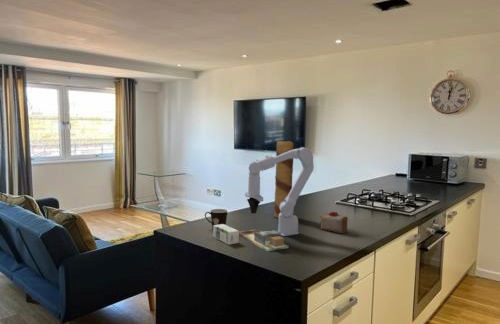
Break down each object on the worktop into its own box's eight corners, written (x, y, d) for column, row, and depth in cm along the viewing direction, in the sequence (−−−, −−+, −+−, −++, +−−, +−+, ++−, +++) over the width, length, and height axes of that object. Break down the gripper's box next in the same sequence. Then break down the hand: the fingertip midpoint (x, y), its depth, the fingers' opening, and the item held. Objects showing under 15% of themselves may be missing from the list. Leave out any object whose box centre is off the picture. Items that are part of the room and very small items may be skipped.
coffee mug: (230, 230, 183) (231, 211, 182) (217, 233, 177) (217, 213, 176) (216, 225, 191) (216, 207, 190) (203, 228, 185) (203, 209, 184)
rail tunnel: (257, 231, 181) (257, 220, 181) (288, 247, 158) (289, 235, 157) (237, 234, 176) (237, 223, 176) (267, 251, 152) (267, 238, 152)
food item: (317, 229, 188) (318, 211, 187) (325, 226, 194) (325, 208, 193) (342, 234, 179) (343, 215, 178) (349, 231, 185) (349, 212, 184)
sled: (269, 239, 166) (269, 230, 165) (284, 247, 155) (284, 237, 155) (259, 240, 163) (260, 232, 163) (274, 248, 153) (274, 239, 152)
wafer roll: (286, 214, 220) (289, 140, 216) (294, 218, 210) (296, 141, 206) (271, 215, 217) (272, 140, 213) (277, 219, 207) (279, 141, 203)
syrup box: (228, 245, 160) (212, 236, 171) (239, 242, 163) (222, 234, 175) (228, 232, 159) (212, 225, 171) (239, 230, 162) (223, 223, 174)
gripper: (240, 184, 182) (239, 210, 183) (254, 188, 169) (253, 217, 171) (252, 183, 185) (251, 209, 187) (267, 187, 173) (266, 215, 174)
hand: (253, 213), depth 179 cm, fingers closed
